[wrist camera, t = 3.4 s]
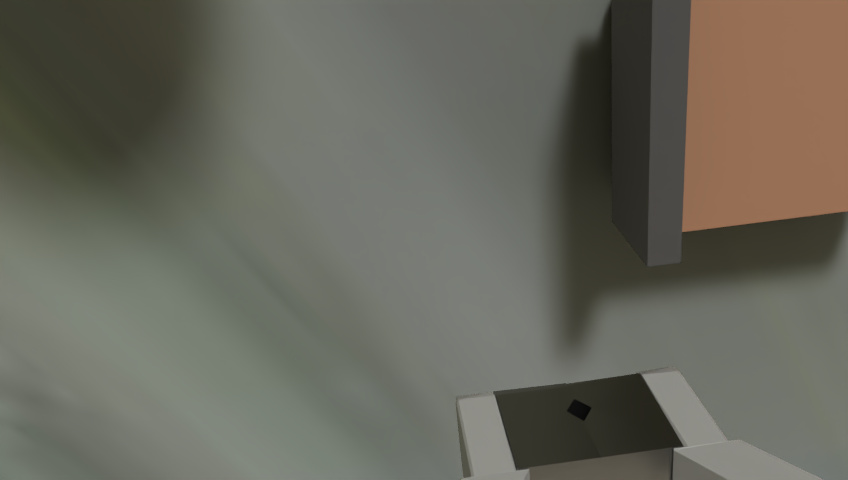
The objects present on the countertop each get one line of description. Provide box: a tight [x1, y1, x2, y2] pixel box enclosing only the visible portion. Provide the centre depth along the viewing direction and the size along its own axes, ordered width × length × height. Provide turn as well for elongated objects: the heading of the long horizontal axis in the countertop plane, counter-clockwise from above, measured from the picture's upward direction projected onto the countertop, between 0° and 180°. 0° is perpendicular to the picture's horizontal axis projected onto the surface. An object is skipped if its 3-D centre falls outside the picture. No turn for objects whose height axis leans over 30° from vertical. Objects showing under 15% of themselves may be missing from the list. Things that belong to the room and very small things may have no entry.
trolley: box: [612, 0, 848, 267], centre depth 23 cm, size 10×8×6 cm
